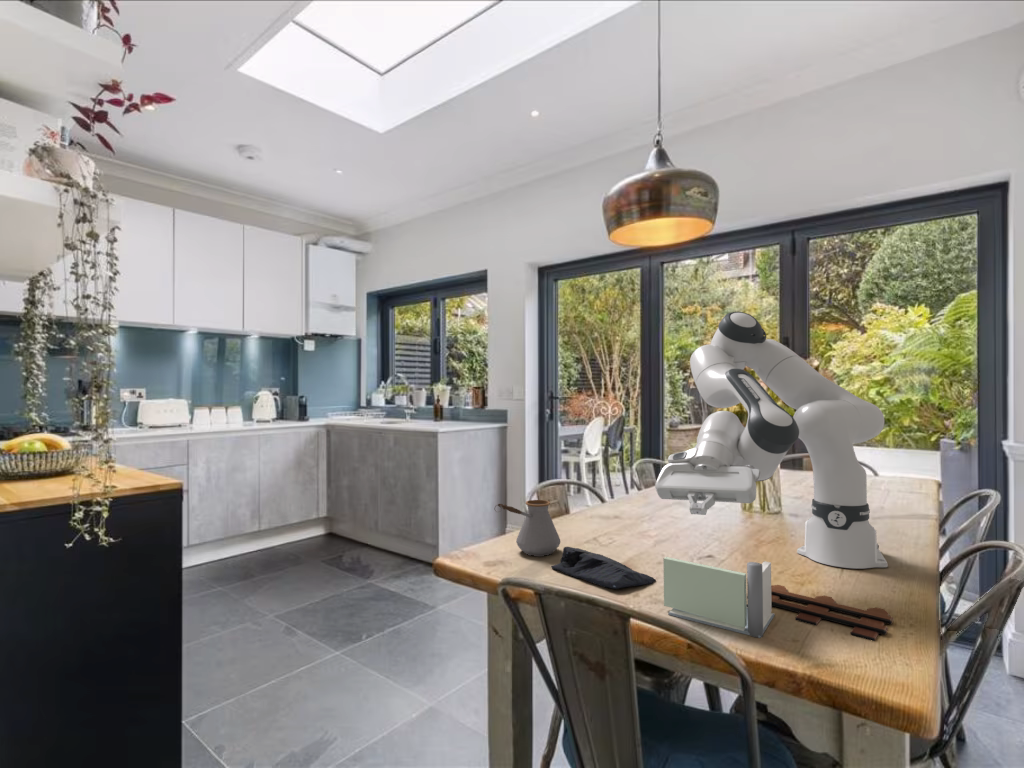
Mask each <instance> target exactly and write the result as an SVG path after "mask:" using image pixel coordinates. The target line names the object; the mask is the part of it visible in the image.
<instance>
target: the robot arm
mask: <svg viewBox="0 0 1024 768" xmlns="http://www.w3.org/2000/svg"><path fill="white" fill-rule="evenodd" d="M689 363H690V364H689V365H690V366H689V367H690V370H691V375H692V379H693V381H694V383H695V387H696V388H697V391H698V392H699V395H700V396H701V399H702V400H703V401H704V402H705V403H706V404H707V405H708V406H710V407H714V408H717V409H727V408H728V409H729V408H731V407H732V408H733V406H734V407H735V406H737V405H738V404H740V403H741V405H742V406H743V408H744V409H745V411H747V421H746V425H744V424H742V422H741V420H740V418H739V417H738V416H737V414H735V413H733V412H732V411H729V410H728V411H727V410H719V411H718V410H717V411H714V412H712V413H711V414H709V415H708V416H707V417H705V419H704V421H703V422H702V424H701V427H700V429H699V431H698V434H697V437H696V444H695V446H694V447H693V448H690V449H688V450H683V451H680V452H676V453H672V454H670V455H669V456H668V457H667V461H668V462H667V464H665V465H664V466H663V467H662V469H661V470H660V472H659V474H658V476H657V479H656V481H655V484H654V485H655V486H654V487H655V491H656V493H657V495H658V497H659V498H660V499H662V500H675V501H689V503H690V504H689V512H690V514H691V515H700V516H707V512H708V510H709V509H711V508H712V507H713V506H714V505H715V504H716V503H734V504H737V503H739V504H752V503H753V502H755V501H756V499H757V483H756V482H763V481H767V480H770V479H771V478H772V477H773V475H774V474H775V472H776V471H777V469H778V467H779V465H780V464H781V463H782V462H783V459H784V458H785V456H786V455H787V453H788V451H789V450H790V449H791V448H792V446H793V445H794V444H795V443H796V441H797V440H798V439H799V440H800V441H802V443H803V444H804V446H805V449H806V450H807V453H808V455H809V459H810V462H811V467H812V475H813V499H812V501H811V507H810V508H811V514H812V516H811V517H810V518H809V519H807V520H806V521H805V522H804V523H805V524H804V525H805V527H804V544H803V545H802V546H800V547H798V548H797V550H796V553H797V554H798V555H802V556H805V557H806V558H809V559H810V560H812V561H814V562H817V563H820V564H823V565H828V566H832V567H837V568H845V569H857V570H858V569H871V568H888V567H889V566H888V565H889V564H888V562H887V559H886V558H885V557H884V555H883V553H882V551H880V548H879V547H880V545H879V544H878V542H877V539H878V538H877V536H878V535H877V530H876V529H875V527H874V526H872V525H871V523H870V521H869V520H870V512H871V511H870V510H871V509H870V506H869V503H868V501H867V499H868V498H867V497H868V496H867V493H868V492H867V491H868V490H867V488H868V487H867V480H868V479H867V471H866V469H865V468H864V466H862V465H861V464H860V463H859V460H858V458H857V456H856V452H855V450H854V444H862V443H864V442H865V443H866V442H867V441H870V440H871V439H875V437H878V436H879V435H880V434H881V433H882V432H883V429H884V427H885V416H884V414H883V412H882V410H881V409H880V407H878V406H877V405H876V404H873V403H872V402H870V401H866V400H865V399H862V398H860V397H859V396H857V395H855V394H853V393H852V392H850V391H848V390H847V389H846V388H844V387H842V386H841V385H839V384H837V383H835V382H834V381H832V380H829V379H828V378H827V377H825V376H823V374H821V373H820V372H819V371H818V370H816V369H815V368H814V367H812V365H810V364H809V363H808V362H806V360H804V359H803V358H802V357H801V356H800V355H798V354H797V353H796V352H794V351H793V350H792V349H790V348H789V347H787V346H786V345H784V344H782V343H781V342H779V341H777V340H775V339H771V338H767V333H766V331H765V329H764V328H763V327H762V324H761V323H760V322H759V321H758V320H757V318H755V317H754V316H753V315H751V314H749V313H747V312H743V311H732V312H728V313H727V314H725V315H724V316H723V317H722V318H721V320H720V321H719V323H718V326H717V329H716V330H715V332H714V335H713V337H712V339H711V341H710V343H709V344H704V345H701V346H699V347H698V348H696V349H695V350H694V351H693V352H692V354H691V356H690V359H689ZM746 367H747V368H750V369H751V370H752V371H754V372H755V374H756V375H757V376H758V377H759V379H760V380H761V381H762V382H763V383H764V384H765V385H766V386H767V387H768V388H769V389H770V390H771V391H772V392H773V393H774V394H775V395H776V396H777V397H778V398H779V399H780V400H781V401H782V402H783V403H785V405H787V407H790V408H792V409H794V410H795V412H794V414H793V416H792V415H791V414H790V413H789V412H788V411H787V410H785V409H784V408H783V407H781V406H780V405H779V404H778V403H777V402H776V401H775V400H774V398H773V397H772V396H771V395H770V394H769V393H768V391H766V389H765V388H764V387H763V386H762V385H761V383H760V382H759V381H758V380H757V379H756V378H755V377H754V376H753V375H752V374H751V373H750V372H749V371H746V370H745V368H746Z"/></svg>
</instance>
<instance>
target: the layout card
mask: <svg viewBox="0 0 1024 768" xmlns="http://www.w3.org/2000/svg"><path fill="white" fill-rule="evenodd" d="M668 616H673V617H677V618H679V619H684V620H688V621H692V622H696V623H699V624H700V623H701V624H703V625H708V626H712V627H716V628H719V629H722V630H723V629H724V630H727V631H731V632H736V633H738V634H743V635H747V636H750V633H749V632H748V607H747V626H746V627H745V628H744V627H741V626H737V625H733V624H730V623H726V622H722V621H719V620H715V619H711V618H707V617H704V616H700V615H696V614H693V613H689V612H685V611H682V610H678V609H674V608H672V609H671V610H669V611H668ZM774 617H775V613H773V612H771V613H770V614H769V616H768V617H767V619H766V620H765V622H764V623H763V634H764V633H765V632H766V630H767V629H768V626H769V625H770V623H771V622H772V620H773V619H774ZM757 638H758V639H761V638H762V637H761V635H758V637H757Z"/></svg>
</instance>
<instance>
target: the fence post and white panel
mask: <svg viewBox="0 0 1024 768" xmlns="http://www.w3.org/2000/svg"><path fill="white" fill-rule="evenodd" d="M746 571H747V573H746V594H747V604H748V607H747V608H748V632H749V633H750V635H749V636H750V637H753V638H758V635H761V638H763V637H764V633H763V623H764V622H765V620H766V619H767V617H768V616H769V614H770V613H772V607H773V606H772V603H771V586H772V562H770V561H764V560H763V562H762V563H760V562H757V561H756V562H755V561H749V562H746Z"/></svg>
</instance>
